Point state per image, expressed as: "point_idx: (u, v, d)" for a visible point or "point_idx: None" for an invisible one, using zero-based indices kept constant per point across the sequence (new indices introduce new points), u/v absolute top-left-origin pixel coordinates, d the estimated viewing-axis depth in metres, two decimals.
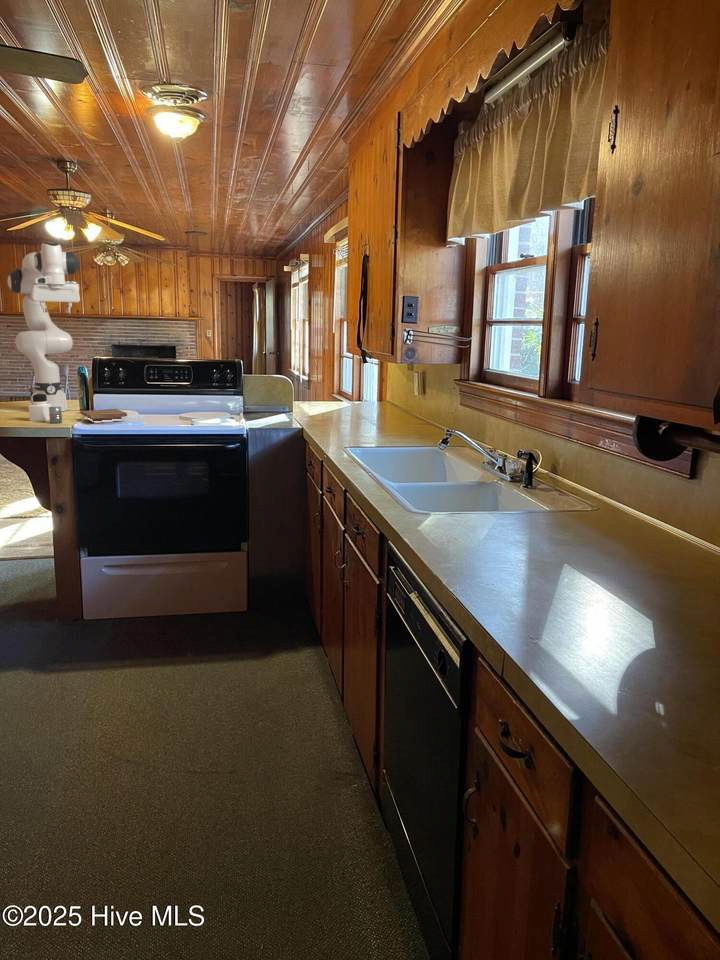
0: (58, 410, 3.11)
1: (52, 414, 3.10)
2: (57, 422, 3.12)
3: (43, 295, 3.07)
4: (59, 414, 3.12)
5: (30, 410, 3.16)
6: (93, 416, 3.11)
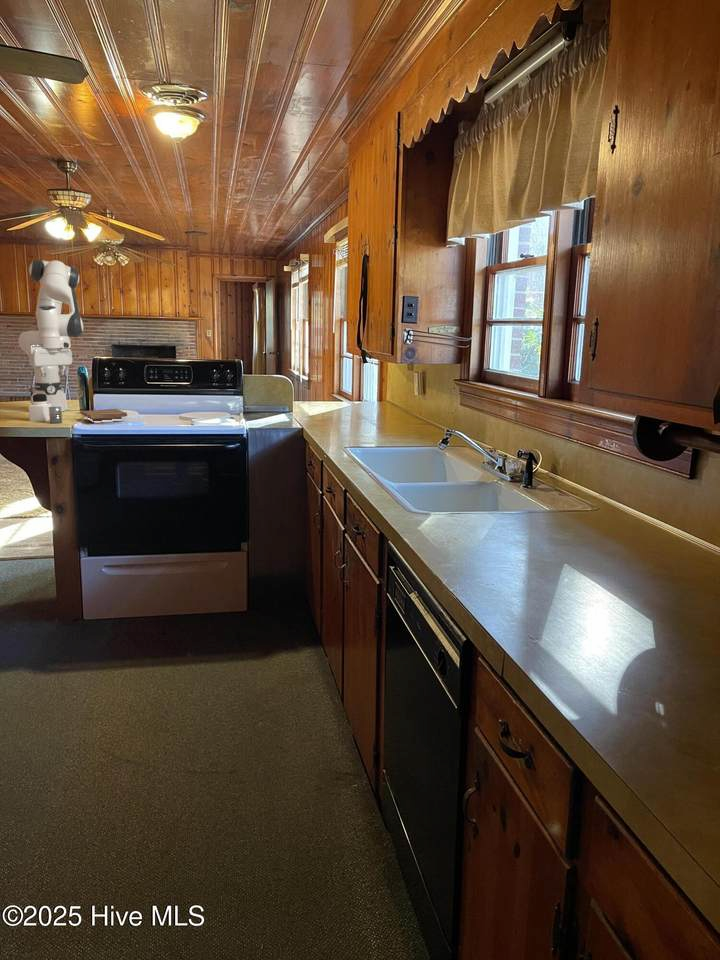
0: (58, 410, 3.11)
1: (52, 414, 3.10)
2: (57, 422, 3.12)
3: None
4: (59, 414, 3.12)
5: (30, 410, 3.16)
6: (93, 416, 3.11)
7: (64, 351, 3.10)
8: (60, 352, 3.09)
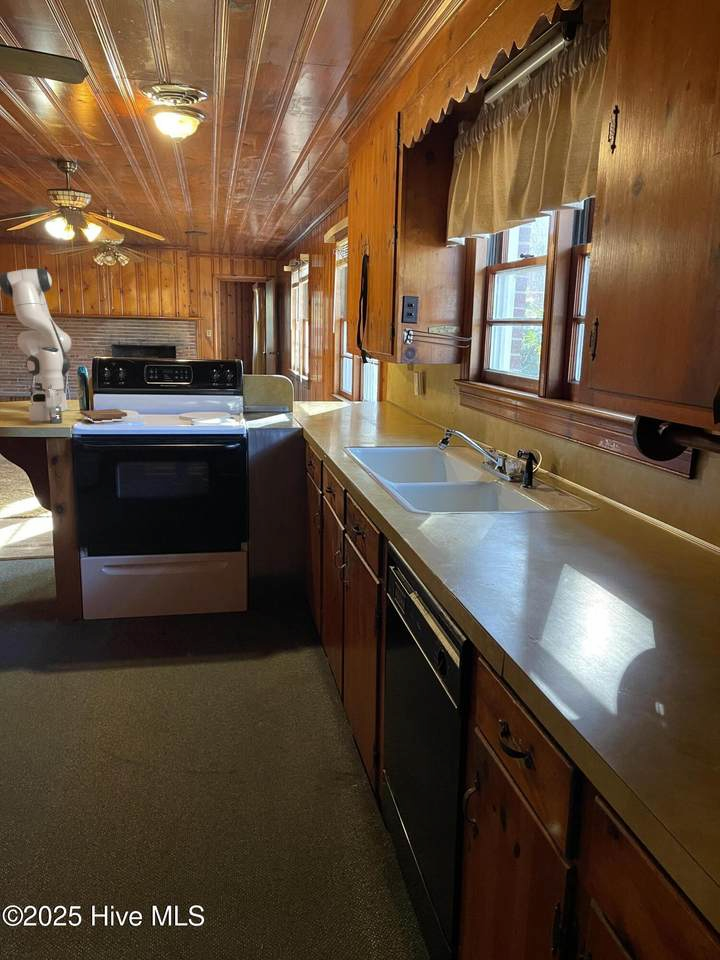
0: (58, 410, 3.11)
1: None
2: (57, 422, 3.12)
3: None
4: (59, 414, 3.12)
5: (30, 410, 3.16)
6: (93, 416, 3.11)
7: None
8: None
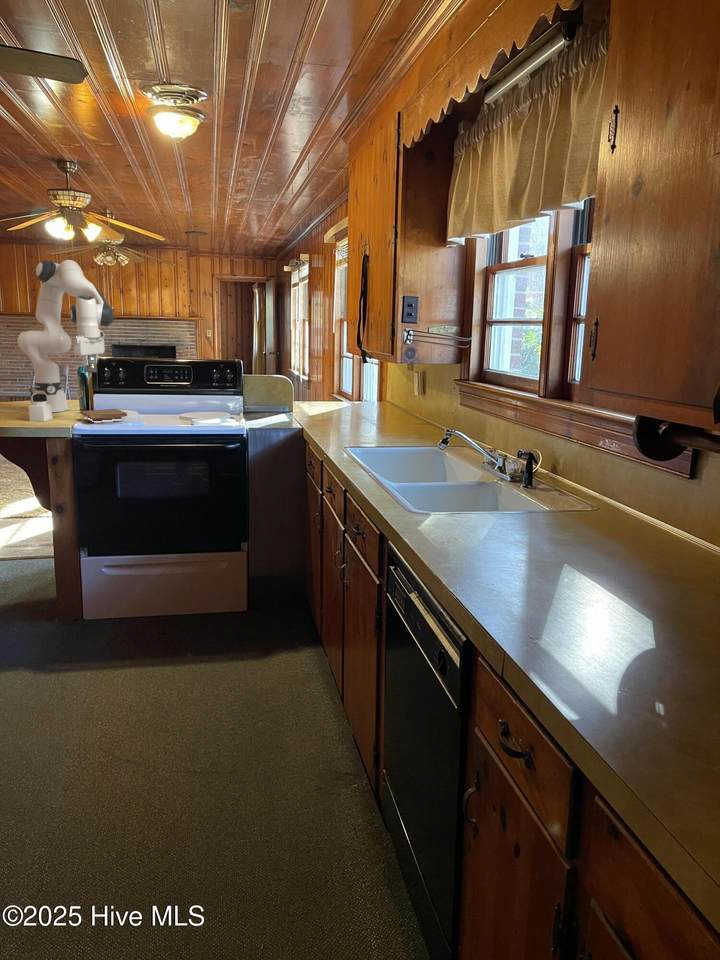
0: (91, 359, 3.11)
1: None
2: (90, 371, 3.12)
3: None
4: (92, 363, 3.12)
5: (30, 410, 3.16)
6: (93, 416, 3.11)
7: (99, 341, 3.17)
8: (97, 341, 3.15)
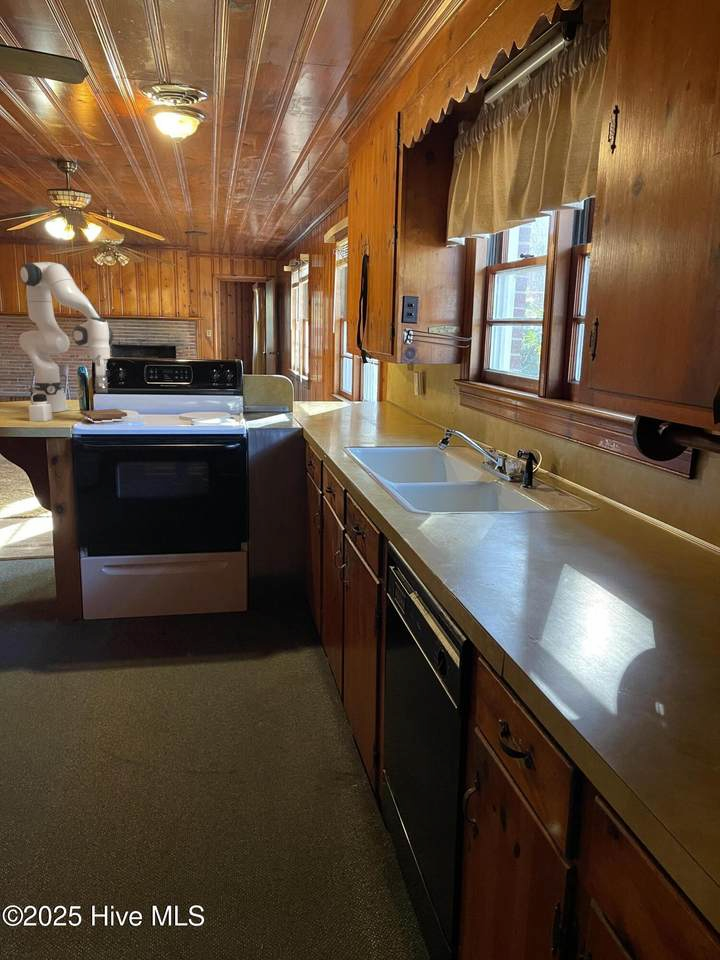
0: (105, 380, 3.16)
1: None
2: (103, 391, 3.16)
3: None
4: (105, 384, 3.16)
5: (30, 410, 3.16)
6: (93, 416, 3.11)
7: None
8: None
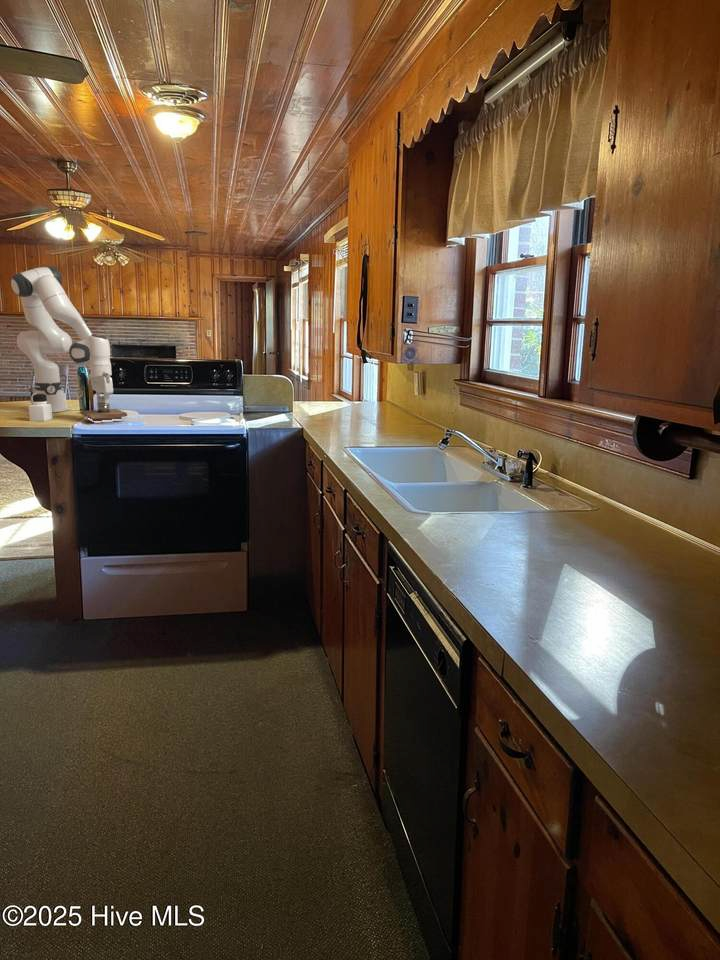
0: None
1: (103, 403, 3.17)
2: (107, 411, 3.19)
3: (94, 385, 3.21)
4: (108, 403, 3.20)
5: (30, 410, 3.16)
6: (93, 416, 3.11)
7: None
8: None
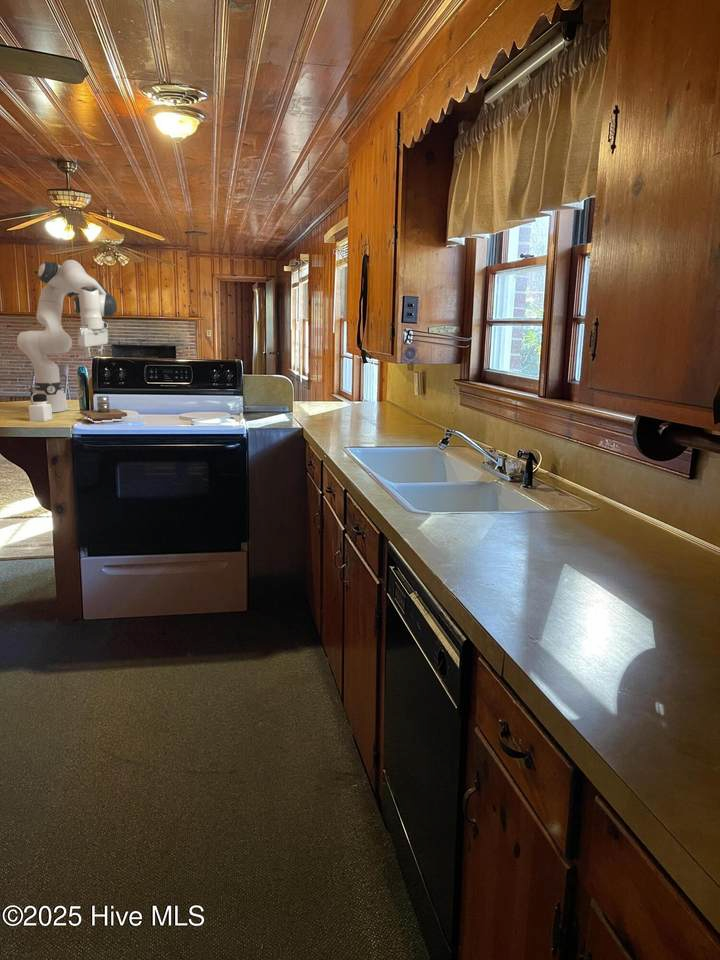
0: (108, 399, 3.19)
1: (103, 403, 3.17)
2: (107, 411, 3.19)
3: None
4: (108, 403, 3.20)
5: (30, 410, 3.16)
6: (93, 416, 3.11)
7: (102, 331, 3.19)
8: (100, 332, 3.17)
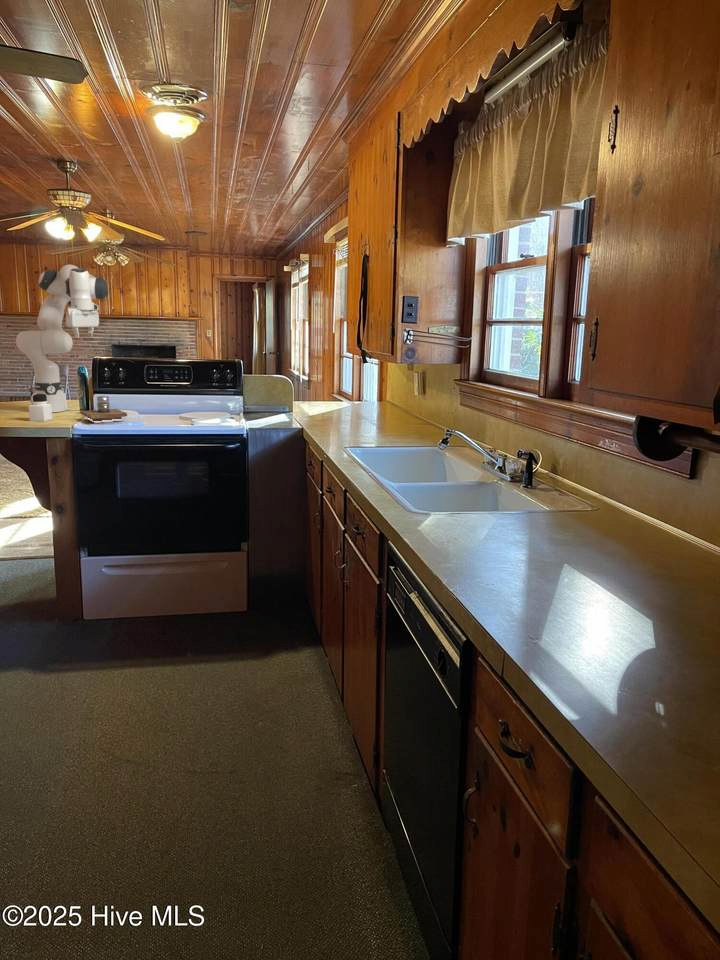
0: (108, 399, 3.19)
1: (103, 403, 3.17)
2: (107, 411, 3.19)
3: None
4: (108, 403, 3.20)
5: (30, 410, 3.16)
6: (93, 416, 3.11)
7: (93, 313, 3.21)
8: (90, 314, 3.19)
